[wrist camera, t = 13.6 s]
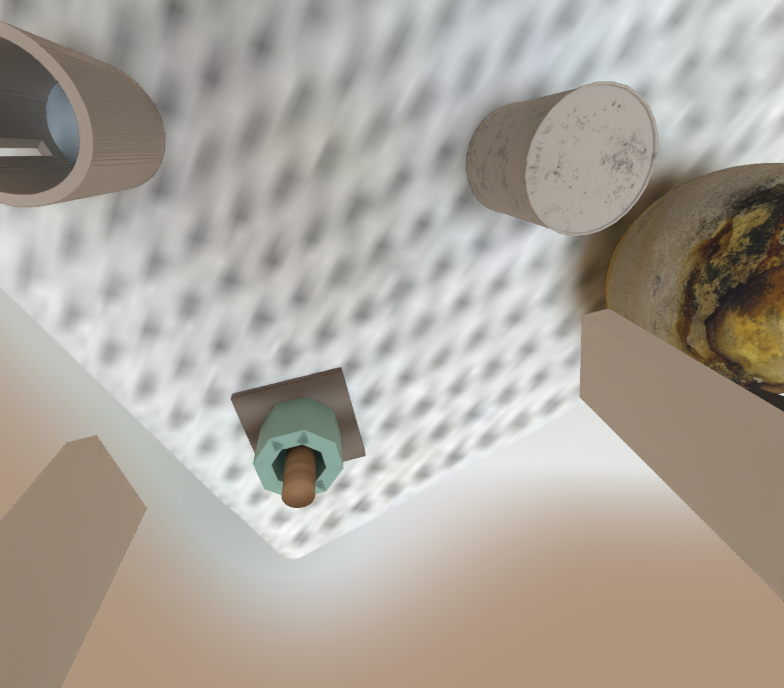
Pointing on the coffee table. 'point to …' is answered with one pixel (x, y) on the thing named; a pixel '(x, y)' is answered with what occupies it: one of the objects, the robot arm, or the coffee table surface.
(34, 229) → the coffee table surface
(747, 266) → the decorative sphere
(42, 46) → the cup
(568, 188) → the beige speckled cylinder
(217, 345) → the coffee table surface
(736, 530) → the robot arm
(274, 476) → the collar
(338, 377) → the post stand
